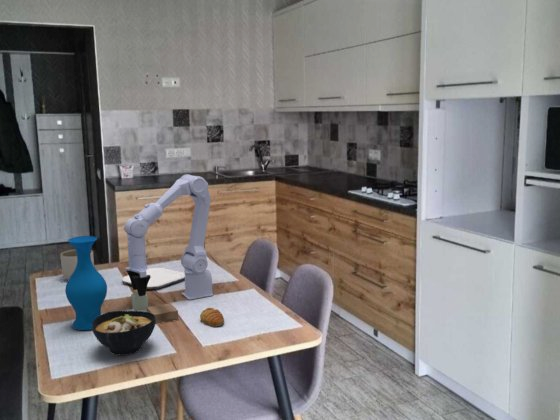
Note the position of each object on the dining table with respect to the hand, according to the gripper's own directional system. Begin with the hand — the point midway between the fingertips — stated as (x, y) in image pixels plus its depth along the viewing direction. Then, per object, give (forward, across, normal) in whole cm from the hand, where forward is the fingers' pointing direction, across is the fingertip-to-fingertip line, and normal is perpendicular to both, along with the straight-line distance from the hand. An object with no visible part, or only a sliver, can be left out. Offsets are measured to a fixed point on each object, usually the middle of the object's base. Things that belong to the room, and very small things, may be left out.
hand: (139, 292), depth 185 cm
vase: (+6, +7, -18) cm, 20 cm away
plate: (+6, -28, +13) cm, 32 cm away
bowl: (+6, +31, -12) cm, 34 cm away
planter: (+6, -47, -13) cm, 49 cm away
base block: (+6, +13, +4) cm, 15 cm away
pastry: (+6, +24, +17) cm, 30 cm away
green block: (+6, 0, 0) cm, 6 cm away
